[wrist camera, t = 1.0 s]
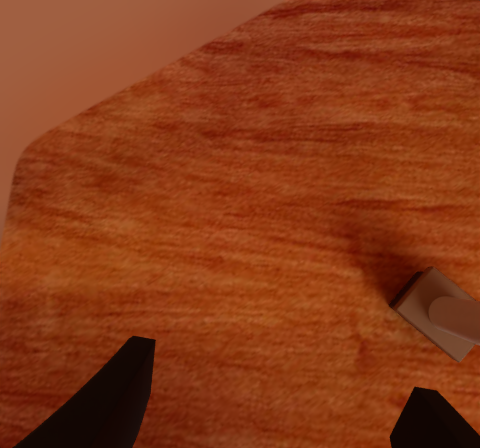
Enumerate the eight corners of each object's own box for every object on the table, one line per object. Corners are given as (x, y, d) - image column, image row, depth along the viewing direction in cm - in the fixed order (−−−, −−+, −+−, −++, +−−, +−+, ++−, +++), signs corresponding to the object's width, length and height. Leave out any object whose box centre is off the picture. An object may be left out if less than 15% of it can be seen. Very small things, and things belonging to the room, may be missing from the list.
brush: (473, 312, 23) (585, 337, 14) (439, 352, 23) (530, 401, 14) (416, 266, 24) (490, 264, 15) (383, 305, 24) (437, 324, 15)
